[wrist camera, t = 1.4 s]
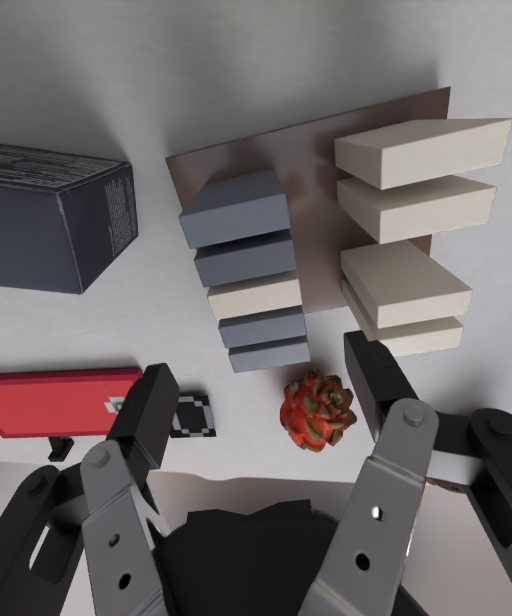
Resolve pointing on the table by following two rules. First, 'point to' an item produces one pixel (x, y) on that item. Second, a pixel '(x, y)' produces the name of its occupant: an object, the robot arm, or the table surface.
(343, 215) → the board
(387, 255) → the white books
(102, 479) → the robot arm
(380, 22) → the table surface
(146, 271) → the table surface
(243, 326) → the grey books
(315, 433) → the dragon fruit
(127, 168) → the small box
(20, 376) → the red board with handle
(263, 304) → the cream thin block
